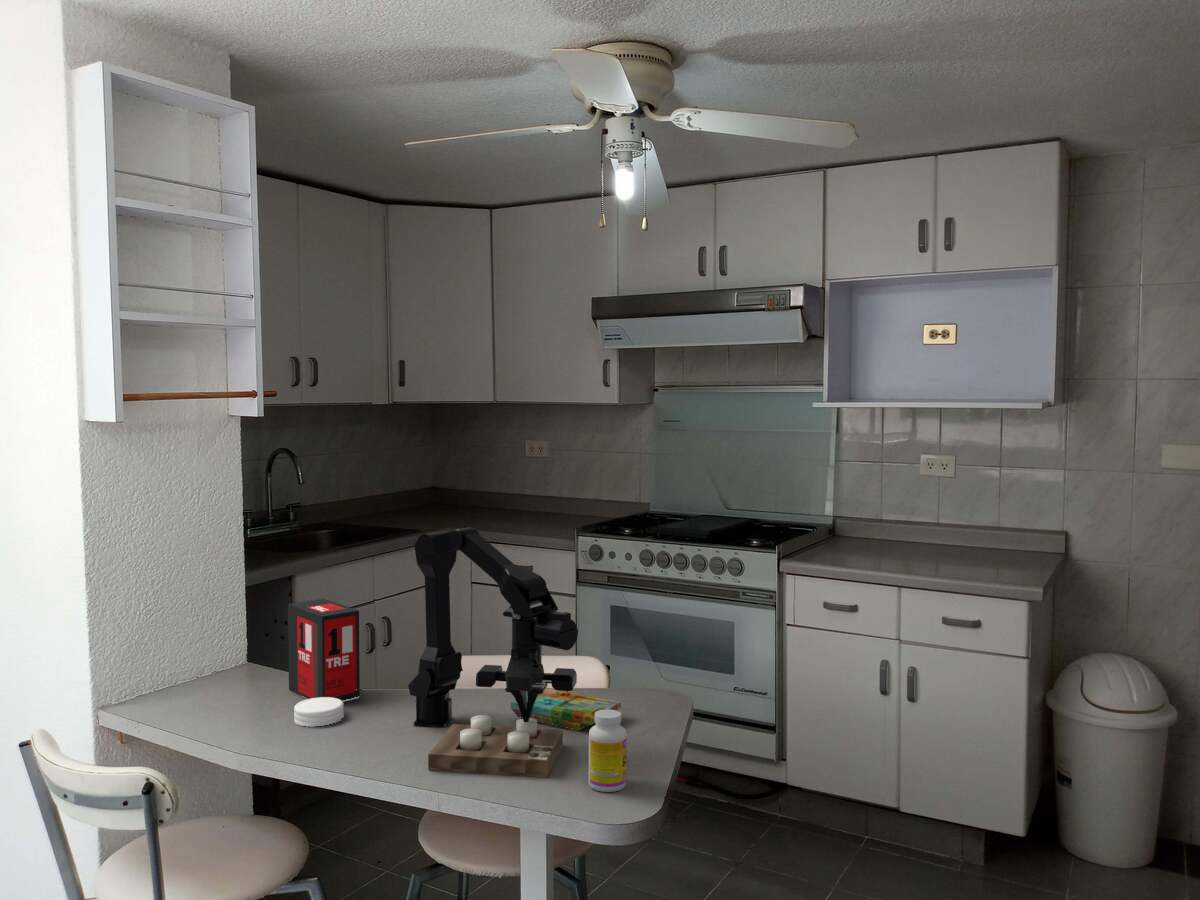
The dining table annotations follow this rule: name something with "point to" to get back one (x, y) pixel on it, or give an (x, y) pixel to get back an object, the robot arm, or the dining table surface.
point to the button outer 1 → (470, 739)
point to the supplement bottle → (607, 752)
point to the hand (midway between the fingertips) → (526, 721)
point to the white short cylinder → (318, 711)
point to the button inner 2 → (527, 727)
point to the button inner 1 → (482, 724)
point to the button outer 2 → (518, 742)
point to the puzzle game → (566, 708)
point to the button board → (496, 753)
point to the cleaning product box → (323, 649)
